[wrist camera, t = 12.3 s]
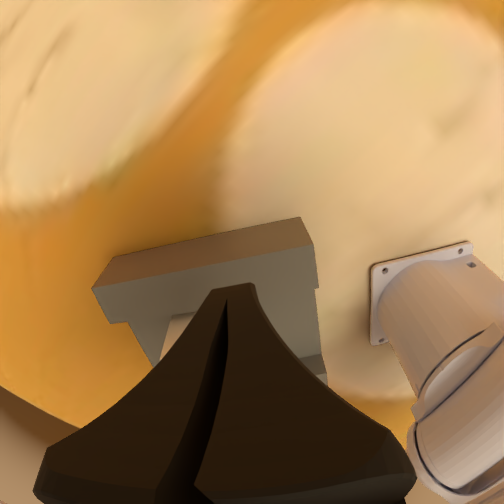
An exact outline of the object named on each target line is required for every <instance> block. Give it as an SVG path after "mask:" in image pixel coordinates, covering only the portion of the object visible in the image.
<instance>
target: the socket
mask: <svg viewBox="0 0 504 504" xmlns="http://www.w3.org/2000/svg"><path fill="white" fill-rule="evenodd" d="M248 282H251V283H253V284H255V287H256V291H257V295H258V299H259V302H260V304H261V307H262V308H263V310H264V312H265V314H266V316H267V317H268V319H269V321H270V322H271V324H272V325H273V327H274V328H275V330H276V331H277V333H278V334H279V335H280V337H281V338H282V339H283V341H284V342H285V343H286V345H287V346H288V347H289V348H290V349H291V351H292V352H293V353H294V354H295V355H296V356H297V357H298V359H299V360H300V361H301V362H302V363H303V364H304V365H305V366H306V367H307V368H308V369H309V370H310V371H311V372H312V373H313V374H314V375H315V376H316V377H318V378H319V379H320V380H321V381H322V382H323V383H324V384H326V385H327V372H326V369H325V365H324V361H323V358H322V354H321V345H320V335H319V325H318V316H317V307H316V298H315V290H314V289H316V288H319V285H318V277H317V268H316V260H315V253H314V245H313V242H312V240H311V238H310V236H309V234H308V232H307V230H306V228H305V226H304V224H303V222H302V219H301V217H297V218H292V219H287V220H282V221H277V222H272V223H267V224H263V225H258V226H253V227H248V228H243V229H238V230H234V231H229V232H224V233H220V234H215V235H210V236H206V237H201V238H196V239H192V240H187V241H183V242H178V243H174V244H169V245H165V246H161V247H156V248H152V249H147V250H143V251H139V252H134V253H130V254H126V255H121V256H117V257H113V259H112V260H111V261H110V263H109V264H108V266H107V267H106V268H105V270H104V271H103V272H102V274H101V275H100V277H99V278H98V280H97V281H96V282H95V284H94V285H93V287H92V288H91V289H92V291H93V293H94V295H95V297H96V299H97V301H98V302H99V304H100V306H101V308H102V310H103V312H104V314H105V316H106V317H107V319H108V321H109V323H110V324H114V323H121V322H128V323H129V325H130V327H131V329H132V331H133V333H134V334H135V336H136V338H137V340H138V342H139V343H140V345H141V347H142V349H143V351H144V352H145V354H146V356H147V357H148V359H149V361H150V362H151V364H152V366H153V368H154V367H155V366H156V365H157V364H158V363H159V362H160V356H161V353H162V349H163V345H164V342H165V338H166V334H167V331H168V327H169V324H170V320H171V317H172V315H176V314H182V313H188V312H194V311H198V309H199V307H200V306H201V304H202V303H203V301H204V300H205V298H206V297H207V295H208V294H209V293H210V291H211V290H212V289H216V288H222V287H227V286H232V285H238V284H243V283H248ZM327 386H328V385H327Z"/></svg>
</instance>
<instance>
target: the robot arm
mask: <svg viewBox="0 0 504 504" xmlns="http://www.w3.org/2000/svg"><path fill="white" fill-rule="evenodd" d="M459 249H460V251H459ZM458 251H459V252H458ZM383 268H386V269H385V271H382V270H383ZM381 338H382V339H381ZM387 342H390V344H391V346H392V348H393V350H394V352H395V354H396V356H397V358H398V360H399V362H400V364H401V366H402V368H403V370H404V372H405V374H406V376H407V378H408V380H409V382H410V384H411V386H412V388H413V391H414V393H415V395H416V397H417V399H418V400H417V402H416V403H415V404H414V405H413V406H412V407H411V411H412V413H413V415H414V418H415V420H416V421H415V422H414V423H413V424H412V425H411V426H410V428H409V430H408V433H407V453H406V452H405V450H404V449H403V447H402V446H401V444H400V443H399V442H398V440H397V439H396V437H395V436H394V435H393V433H392V432H391V431H390V430H389V429H388V428H386V427H384V426H383V425H381V424H379V423H378V422H376V421H374V420H373V419H371V418H370V417H368V416H367V415H365V414H364V413H362V412H361V411H359V410H358V409H356V408H355V407H353V406H352V405H351V404H349V403H348V402H347V401H345V400H344V399H343V398H341V397H340V396H339V395H337V394H336V393H335V392H334V391H333V390H331V389H330V388H329V387H328V386H327V385H326V384H324V383H323V382H322V381H321V380H320V379H319V378H318V377H316V376H315V375H314V374H313V373H312V372H311V371H310V370H309V369H308V368H307V367H306V366H305V365H304V364H303V363H302V362H301V361H300V360H299V359H298V357H297V356H296V355H295V354H294V353H293V352H292V351H291V349H290V348H289V347H288V346H287V345H286V343H285V342H284V341H283V339H282V338H281V337H280V335H279V334H278V333H277V331H276V330H275V328H274V327H273V325H272V324H271V322H270V321H269V319H268V317H267V316H266V314H265V312H264V310H263V308H262V307H261V304H260V302H259V299H258V295H257V291H256V287H255V284H253V283H251V282H248V283H243V284H238V285H232V286H227V287H222V288H216V289H212V290H211V291H210V293H209V294H208V295H207V297H206V298H205V300H204V301H203V303H202V304H201V306H200V307H199V309H198V311H197V312H196V314H195V315H194V317H193V318H192V320H191V321H190V322H189V324H188V325H187V327H186V328H185V330H184V331H183V333H182V334H181V335H180V337H179V338H178V339H177V340H176V342H175V343H174V344H173V346H172V347H171V348H170V349H169V351H168V352H167V353H166V355H165V356H164V357H163V358H162V359H161V360H160V362H159V363H158V364H157V365H156V366H155V367H154V368H153V369H152V370H151V371H150V372H149V373H148V374H147V375H146V377H145V378H144V379H143V380H142V381H141V382H139V383H138V384H137V385H136V386H135V387H134V388H133V389H132V390H131V391H129V392H128V393H127V394H126V395H125V396H124V397H123V398H122V399H120V400H119V401H118V402H117V403H116V404H115V405H113V406H112V407H111V408H109V409H108V410H107V411H106V412H104V413H103V414H102V415H100V416H99V417H97V418H96V419H95V420H93V421H92V422H90V423H89V424H87V425H86V426H84V427H83V428H81V429H80V430H78V431H76V432H75V433H73V434H71V435H70V436H68V437H66V438H64V439H62V440H61V441H59V442H57V443H55V444H54V445H52V446H50V447H48V448H47V450H46V452H45V455H44V458H43V461H42V464H41V467H40V470H39V473H38V476H37V479H36V482H35V485H34V488H33V493H34V495H35V496H36V497H37V499H39V500H40V501H41V502H43V503H44V504H406V502H405V499H404V497H405V496H406V495H407V494H408V492H409V491H410V490H411V489H412V487H413V486H414V484H415V482H416V480H417V478H418V479H419V481H420V482H421V483H422V484H423V485H424V486H425V487H427V488H428V489H430V490H432V491H433V492H435V493H437V494H439V495H440V496H442V497H443V498H444V499H445V500H447V501H448V502H449V503H450V504H504V282H503V281H502V280H501V279H500V278H499V277H498V276H497V275H496V274H495V273H493V272H492V271H491V270H490V269H489V268H488V267H487V266H486V265H485V264H483V263H482V262H481V261H480V260H479V259H478V258H476V257H475V256H474V255H473V244H472V243H471V242H470V241H468V242H464V243H460V244H456V245H452V246H448V247H445V248H441V249H437V250H433V251H429V252H425V253H421V254H417V255H413V256H408V257H404V258H400V259H396V260H392V261H388V262H383V263H379V264H376V265H374V266H373V267H372V269H371V319H370V343H371V345H372V346H376V345H380V344H383V343H387ZM0 504H6V503H5V502H3V501H1V500H0Z"/></svg>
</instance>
